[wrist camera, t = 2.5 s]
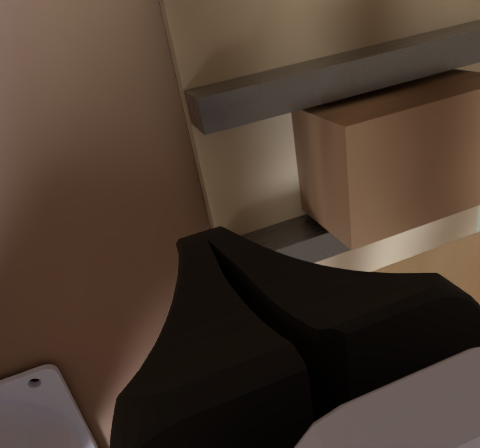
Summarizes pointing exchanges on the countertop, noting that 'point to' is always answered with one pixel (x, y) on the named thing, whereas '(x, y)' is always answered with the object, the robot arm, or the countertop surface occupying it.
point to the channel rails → (320, 92)
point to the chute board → (280, 127)
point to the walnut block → (391, 157)
